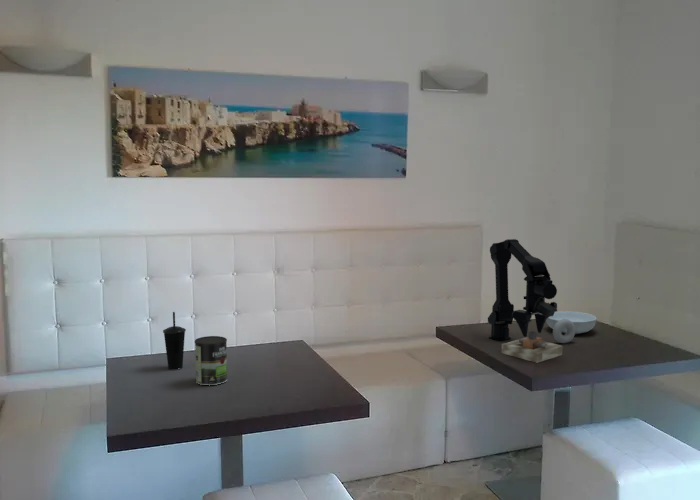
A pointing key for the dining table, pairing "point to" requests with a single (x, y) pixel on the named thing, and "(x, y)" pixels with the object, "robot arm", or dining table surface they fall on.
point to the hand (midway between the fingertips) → (532, 334)
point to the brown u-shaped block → (531, 341)
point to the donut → (558, 330)
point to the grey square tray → (532, 350)
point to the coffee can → (211, 360)
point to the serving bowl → (573, 320)
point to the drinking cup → (174, 345)
